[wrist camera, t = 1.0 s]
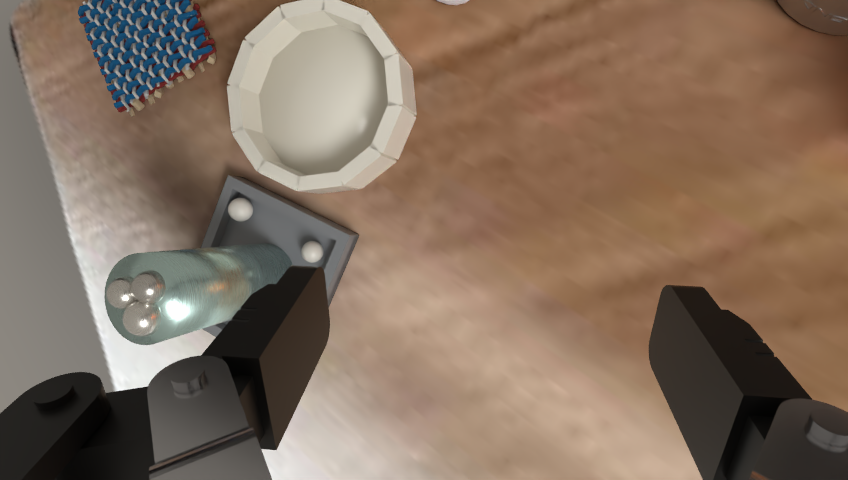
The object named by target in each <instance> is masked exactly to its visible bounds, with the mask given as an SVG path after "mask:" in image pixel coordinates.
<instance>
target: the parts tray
mask: <svg viewBox="0 0 848 480" xmlns="http://www.w3.org/2000/svg"><path fill="white" fill-rule="evenodd" d="M358 237H359V235H358V234H356V233H354V232H352V231H350V230H348V229H346V228H344V227H342V226H340V225H338V224H336V223H334V222H332V221H330V220H328V219H326V218H324V217H322V216H320V215H318V214H316V213H314V212H312V211H310V210H308V209H306V208H304V207H302V206H300V205H298V204H296V203H294V202H292V201H290V200H287V199H285V198H283V197H281V196H279V195H277V194H275V193H273V192H271V191H269V190H267V189H265V188H263V187H261V186H259V185H257V184H255V183H253V182H251V181H249V180H247V179H245V178H243V177H237V176H230V175H228V177H227V179H226V182H225V185H224V187H223V190H222V193H221V195H220V198H219V201H218V203H217V206H216V209H215V211H214V214H213V216H212V219H211V222H210V224H209V227H208V230H207V232H206V235H205V238H204V240H203V243H202V246H201V248H210V247H223V246H235V245H248V244H261V243H268V244H273V245H276V246H278V247H279V248H281V249H282V250H283V251H284V252H285V253H286V254H287V255H288V256H289V258H290V260H291V262H292V264H293V265H297V266H316V267H322V268H323V270H324V273H325V281H326V290H327V299H328V308H329V305H330V303H331V301H332V298H333V296H334V294H335V291H336V289H337V287H338V284H339V282H340V279H341V277H342V275H343V272H344V270H345V268H346V265H347V263H348V261H349V258H350V256H351V254H352V251H353V249H354V247H355V244H356V242H357V239H358ZM229 321H232V319H231V320H228V321H225V322H222V323H219V324H215V325H212V326H209V327H206V328H203V330H205V331H207V332H208V333H210V334H212V335H214V336H215V337H217V336H218V334H219V333H220V332H221V331H222V330H223V328H224V327H225V326H226V325H227V323H228V322H229Z"/></svg>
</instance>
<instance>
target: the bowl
mask: <svg viewBox="0 0 848 480" xmlns="http://www.w3.org/2000/svg"><path fill="white" fill-rule="evenodd" d="M280 7H281V8H280ZM280 7H279V6H278V7H277V8H276V9H275V10H273V11H272V12H271V13H270V14H269V15H268V16H267V17H266V18H265V19H264V20H263V21H262V22H261V23H260V24H259V25H257V26H256V27H255V28H254V29H253V30H252V31H251V32H250V33H249V34H248V35H247V36H246V37H245V39H246V40H247V41H245V40H243V42H242V44H241V47H240V50H239V53H238V55H237V58H236V61H235V64H234V66H233V69H232V72H231V74H230V77H229V80H228V83H227V84H229V85H230V86H227V93H228V103H229V113H230V123H231V132H234V133H233V134H232V135H233V136H234V138H235V139H236V141H237V142H238V144H239V145H240V147H241V148H242V150H243V151H244V153H245V154H246V156H247V158H248V159H249V161H250V162H251V164H252V165H253V167H254V168H255V170H256V171H258V173H260V174H262V175H265V176H267V177H269V178H271V179H273V180H275V181H277V182H279V183H281V184H283V185H285V186H287V187H289V188H291V189H293V190H295V191H301V192H309V193H317V194H324V193H332V192H341V191H349V190H358V189H361V188H364V187H365V186H366V185H368V184H369V183H370V182H371V181H373V180H374V179H375V178H377V177H378V176H379V175H380V174H382V173H383V172H384V171H386V170H387V169H388V168H389V167H391V166H392V165H393V164H395V163H396V162H397V161H396V160H395V159H399V157H400V155H401V152H402V150H403V148H404V145H405V143H406V141H407V138H408V136H409V134H410V131H411V129H412V127H413V124H414V122H415V120H416V117H415V115H417V113H416V102H415V91H414V80H413V70H412V69H411V68H412V67H411V66H410V64H409V63H408V62H407V60H406V59H405V57H404V56H403V55H402V53H401V52H400V50H399V49H398V48H397V46H396V45H395V44H394V42H393V41H392V39H391V38H390V37H389V35H388V34H387V32H386V31H385V30H384V29H383V28H382V26H381V25H380V24H379V23H378V22H377V21H376V19H375V18H374V17H373V16H372V15H371V13H369V12H368V11H366V10H364V9H361V8H358V7H356V6H353V5H351V4H348V3H345V2H343V1H340V0H300V1H295V2H291V3H287V4H282V5H280Z"/></svg>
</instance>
